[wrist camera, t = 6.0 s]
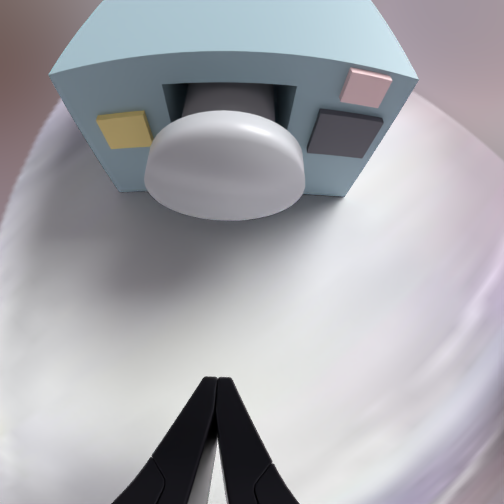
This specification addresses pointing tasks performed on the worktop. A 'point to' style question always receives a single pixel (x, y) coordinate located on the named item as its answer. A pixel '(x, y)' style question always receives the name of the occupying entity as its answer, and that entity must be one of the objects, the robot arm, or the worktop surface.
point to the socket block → (236, 77)
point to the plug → (226, 155)
